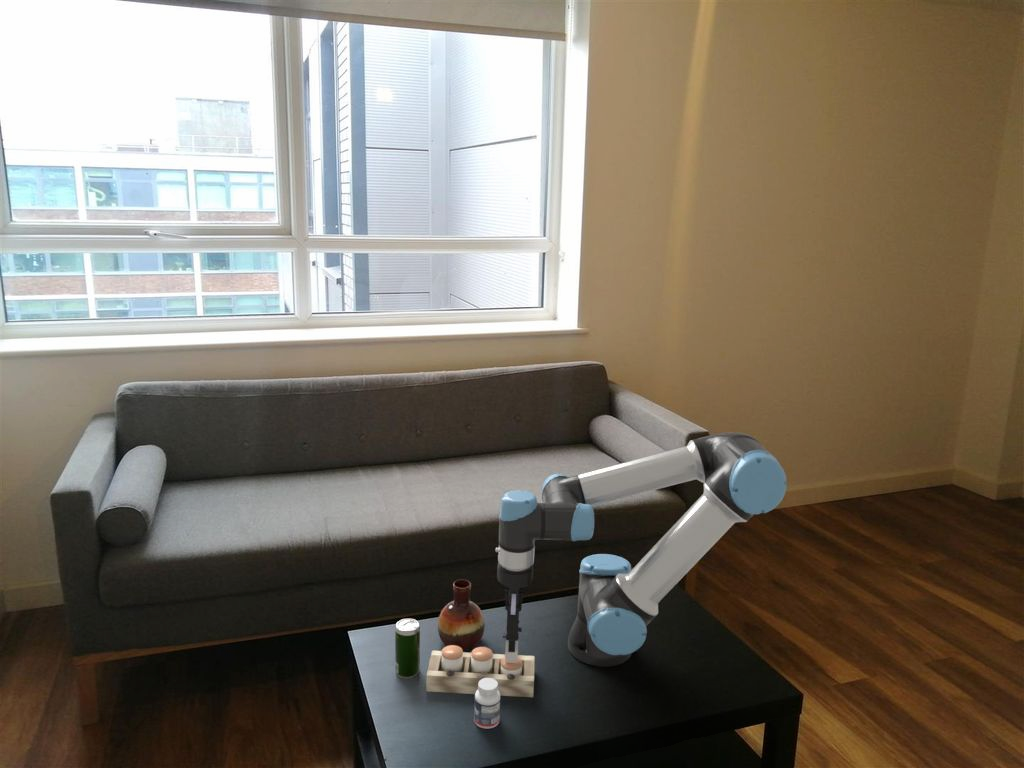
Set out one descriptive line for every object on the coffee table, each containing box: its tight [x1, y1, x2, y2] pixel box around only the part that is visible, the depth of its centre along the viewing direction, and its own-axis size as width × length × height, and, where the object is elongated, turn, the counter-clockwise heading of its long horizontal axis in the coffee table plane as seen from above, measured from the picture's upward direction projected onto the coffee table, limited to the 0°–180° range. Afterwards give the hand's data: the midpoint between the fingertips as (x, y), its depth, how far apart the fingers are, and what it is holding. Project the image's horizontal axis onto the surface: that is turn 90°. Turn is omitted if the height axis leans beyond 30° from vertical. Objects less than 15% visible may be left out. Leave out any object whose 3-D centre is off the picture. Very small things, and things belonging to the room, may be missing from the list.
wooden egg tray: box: [425, 650, 535, 698], centre depth 175 cm, size 23×9×4 cm, turn 88°
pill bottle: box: [473, 678, 501, 730], centre depth 162 cm, size 5×5×9 cm
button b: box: [471, 646, 494, 674], centre depth 174 cm, size 5×5×4 cm
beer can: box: [394, 618, 421, 680], centre depth 176 cm, size 5×5×12 cm
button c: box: [441, 645, 464, 672], centre depth 174 cm, size 5×5×4 cm
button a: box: [501, 657, 522, 676], centre depth 174 cm, size 5×5×4 cm
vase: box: [437, 578, 486, 652], centre depth 188 cm, size 11×11×15 cm
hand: (511, 660), depth 174 cm, fingers closed
